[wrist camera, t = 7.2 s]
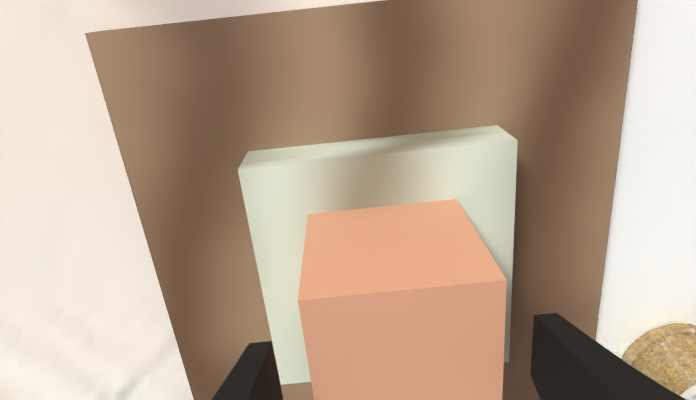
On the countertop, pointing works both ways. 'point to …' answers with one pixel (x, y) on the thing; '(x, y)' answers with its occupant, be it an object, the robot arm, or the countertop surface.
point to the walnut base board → (358, 96)
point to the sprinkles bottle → (667, 358)
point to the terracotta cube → (401, 305)
